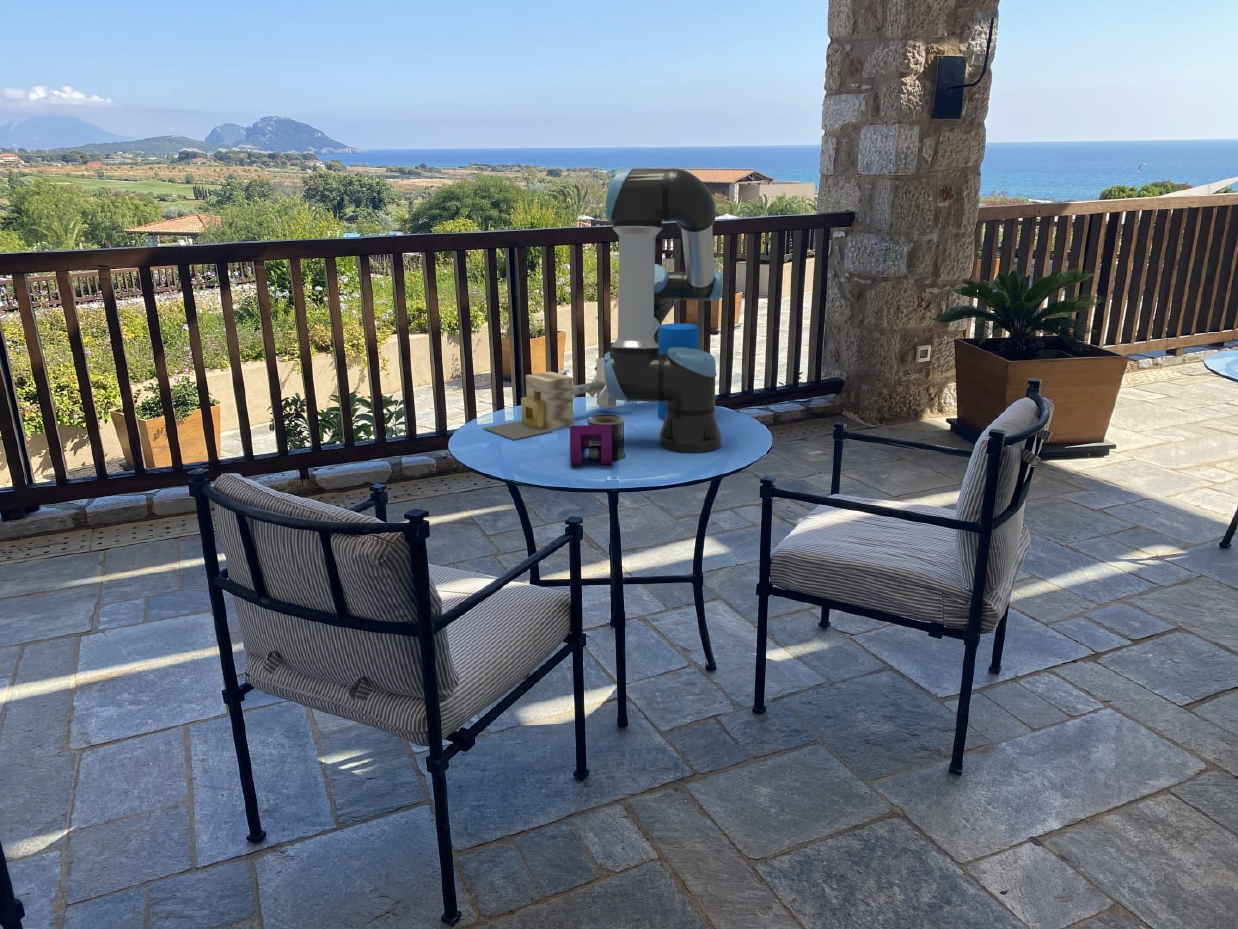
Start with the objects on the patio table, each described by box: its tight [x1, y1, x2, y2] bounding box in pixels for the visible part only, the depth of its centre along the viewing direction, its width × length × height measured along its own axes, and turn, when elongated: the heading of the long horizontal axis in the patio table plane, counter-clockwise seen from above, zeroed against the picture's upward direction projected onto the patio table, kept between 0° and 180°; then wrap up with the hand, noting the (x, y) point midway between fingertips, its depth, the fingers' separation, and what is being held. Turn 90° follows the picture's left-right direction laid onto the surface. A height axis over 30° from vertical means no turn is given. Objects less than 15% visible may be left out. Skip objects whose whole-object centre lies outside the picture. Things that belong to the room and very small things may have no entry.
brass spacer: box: [520, 396, 545, 430], centre depth 230 cm, size 2×7×7 cm, turn 40°
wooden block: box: [525, 371, 575, 431], centre depth 233 cm, size 8×10×13 cm
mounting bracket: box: [569, 424, 613, 466], centre depth 206 cm, size 10×8×18 cm
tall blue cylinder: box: [657, 323, 700, 421], centre depth 238 cm, size 11×11×25 cm
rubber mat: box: [483, 419, 553, 442], centre depth 229 cm, size 12×14×1 cm
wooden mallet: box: [573, 357, 617, 409], centre depth 238 cm, size 22×5×13 cm, turn 130°
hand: (596, 395), depth 243 cm, fingers closed on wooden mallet, 5 cm apart
